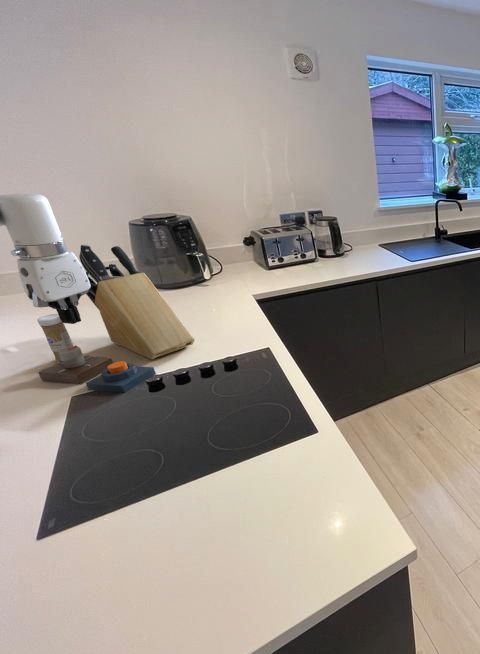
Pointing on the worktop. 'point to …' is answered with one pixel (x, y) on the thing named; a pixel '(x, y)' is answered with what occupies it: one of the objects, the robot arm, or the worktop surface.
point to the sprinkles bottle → (55, 333)
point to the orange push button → (117, 367)
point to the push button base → (121, 379)
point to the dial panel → (76, 371)
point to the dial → (72, 357)
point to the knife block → (133, 307)
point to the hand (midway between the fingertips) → (72, 322)
